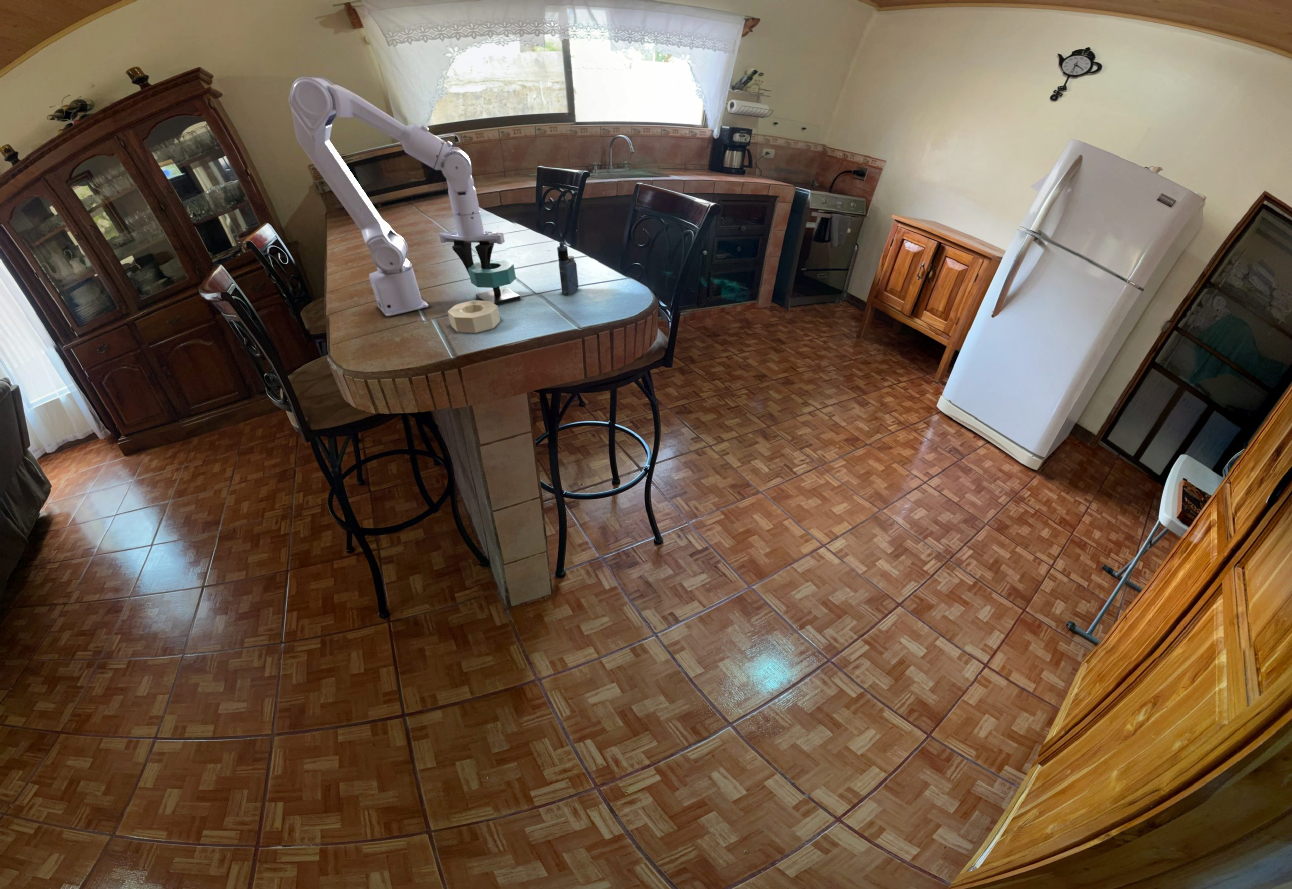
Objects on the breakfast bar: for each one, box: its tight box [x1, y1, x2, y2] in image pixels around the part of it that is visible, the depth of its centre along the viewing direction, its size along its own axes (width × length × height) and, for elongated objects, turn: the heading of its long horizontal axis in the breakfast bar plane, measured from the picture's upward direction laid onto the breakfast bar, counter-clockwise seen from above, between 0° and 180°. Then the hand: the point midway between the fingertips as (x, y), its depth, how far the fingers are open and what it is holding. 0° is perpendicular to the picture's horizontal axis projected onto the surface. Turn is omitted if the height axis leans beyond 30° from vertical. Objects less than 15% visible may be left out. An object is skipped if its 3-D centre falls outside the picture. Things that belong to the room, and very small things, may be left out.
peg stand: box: [475, 286, 521, 307], centre depth 120 cm, size 8×8×6 cm
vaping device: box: [556, 241, 579, 296], centre depth 121 cm, size 3×5×12 cm, turn 152°
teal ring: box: [468, 259, 517, 289], centre depth 118 cm, size 10×10×3 cm
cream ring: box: [447, 299, 501, 334], centre depth 109 cm, size 10×10×3 cm
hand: (479, 274), depth 119 cm, fingers closed on teal ring, 3 cm apart
